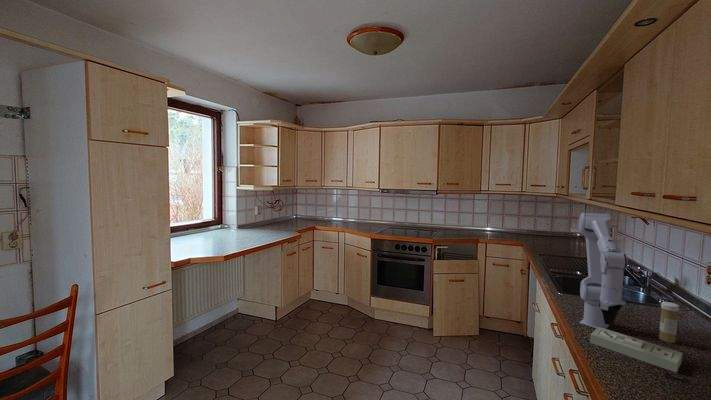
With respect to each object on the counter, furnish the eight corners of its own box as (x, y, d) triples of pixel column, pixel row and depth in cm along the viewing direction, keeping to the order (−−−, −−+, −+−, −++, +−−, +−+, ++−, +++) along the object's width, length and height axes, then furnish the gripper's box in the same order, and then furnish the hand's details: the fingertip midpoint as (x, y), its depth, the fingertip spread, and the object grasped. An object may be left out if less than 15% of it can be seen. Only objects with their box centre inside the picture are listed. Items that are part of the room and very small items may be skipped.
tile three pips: (602, 335, 117) (602, 329, 117) (617, 340, 114) (617, 334, 114) (598, 339, 115) (598, 333, 114) (613, 344, 111) (614, 338, 111)
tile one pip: (627, 341, 112) (627, 334, 112) (643, 346, 108) (644, 340, 108) (623, 345, 109) (624, 339, 109) (640, 351, 106) (641, 344, 105)
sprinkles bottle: (658, 335, 120) (661, 300, 118) (675, 340, 116) (679, 303, 115) (658, 340, 116) (661, 303, 115) (676, 345, 113) (679, 307, 112)
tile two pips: (654, 352, 106) (654, 346, 106) (672, 358, 103) (673, 352, 103) (651, 357, 104) (651, 350, 104) (670, 364, 100) (670, 357, 100)
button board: (598, 334, 120) (598, 326, 120) (681, 361, 103) (682, 352, 103) (589, 342, 115) (590, 334, 115) (676, 372, 98) (677, 363, 97)
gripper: (620, 294, 105) (617, 335, 106) (632, 285, 114) (629, 322, 115) (594, 288, 111) (591, 327, 112) (607, 279, 119) (604, 315, 121)
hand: (608, 324), depth 114 cm, fingers closed
